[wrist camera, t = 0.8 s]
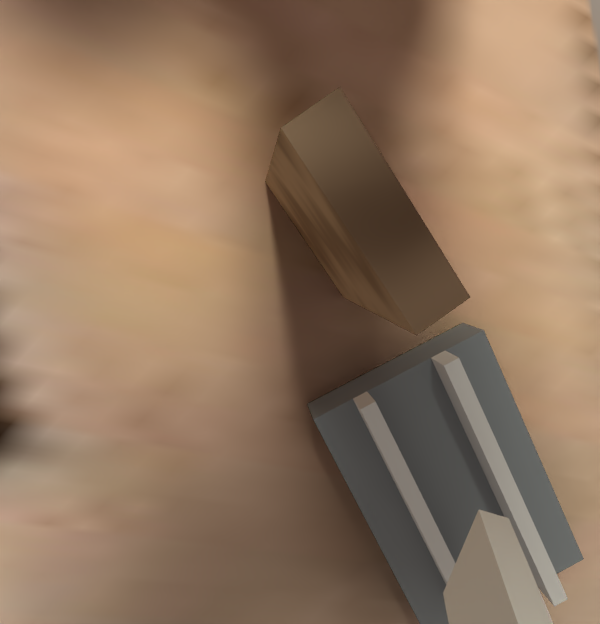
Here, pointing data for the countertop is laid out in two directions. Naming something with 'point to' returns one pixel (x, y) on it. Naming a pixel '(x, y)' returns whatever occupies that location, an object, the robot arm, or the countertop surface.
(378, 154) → the walnut photo frame
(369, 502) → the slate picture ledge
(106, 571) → the countertop surface
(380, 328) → the countertop surface
